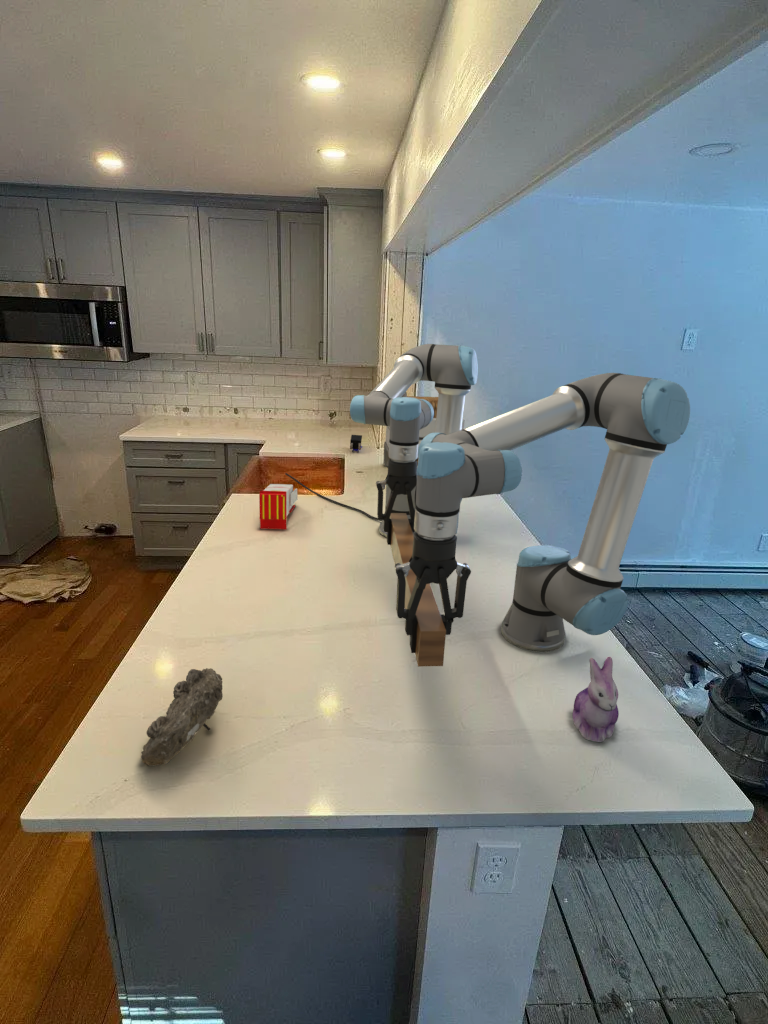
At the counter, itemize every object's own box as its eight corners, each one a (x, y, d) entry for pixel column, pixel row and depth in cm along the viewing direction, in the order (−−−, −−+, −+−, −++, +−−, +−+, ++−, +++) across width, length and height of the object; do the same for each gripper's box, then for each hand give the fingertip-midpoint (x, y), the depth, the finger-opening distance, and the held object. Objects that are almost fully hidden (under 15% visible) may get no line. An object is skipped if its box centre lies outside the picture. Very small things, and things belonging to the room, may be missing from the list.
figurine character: (361, 456, 307) (362, 446, 320) (362, 442, 303) (362, 433, 317) (349, 455, 306) (350, 446, 320) (349, 442, 303) (350, 433, 316)
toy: (299, 479, 223) (289, 492, 194) (299, 512, 226) (289, 530, 197) (268, 478, 223) (253, 491, 193) (268, 512, 225) (254, 529, 196)
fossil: (171, 669, 114) (224, 637, 109) (205, 700, 117) (257, 670, 112) (115, 759, 95) (175, 724, 90) (157, 793, 97) (218, 762, 92)
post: (388, 537, 158) (389, 512, 155) (404, 537, 158) (406, 513, 156) (417, 666, 101) (420, 631, 99) (443, 666, 102) (446, 631, 99)
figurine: (597, 751, 104) (612, 683, 98) (557, 717, 112) (569, 652, 107) (633, 736, 108) (649, 669, 103) (592, 704, 116) (605, 641, 111)
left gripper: (369, 462, 141) (366, 548, 149) (439, 463, 142) (432, 548, 151) (367, 454, 148) (365, 537, 156) (434, 456, 149) (428, 537, 158)
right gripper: (386, 541, 93) (381, 661, 101) (491, 541, 95) (477, 659, 103) (382, 524, 101) (378, 638, 109) (480, 525, 102) (468, 637, 110)
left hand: (398, 542), depth 153 cm, fingers closed on post, 5 cm apart
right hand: (426, 648), depth 106 cm, fingers closed on post, 5 cm apart
